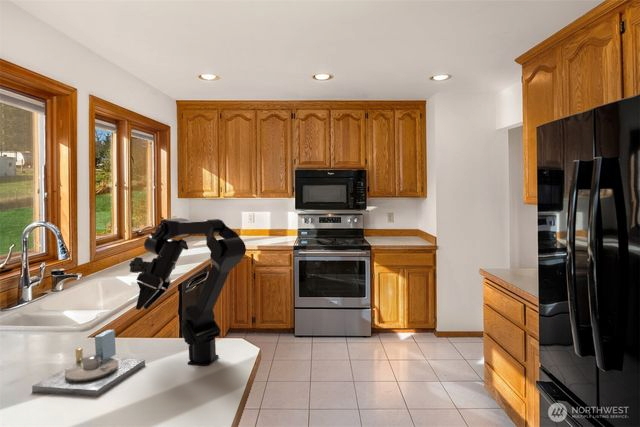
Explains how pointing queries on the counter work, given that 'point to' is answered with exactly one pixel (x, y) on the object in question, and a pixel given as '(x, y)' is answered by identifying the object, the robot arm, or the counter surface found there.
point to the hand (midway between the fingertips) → (141, 308)
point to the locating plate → (88, 387)
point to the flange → (96, 360)
